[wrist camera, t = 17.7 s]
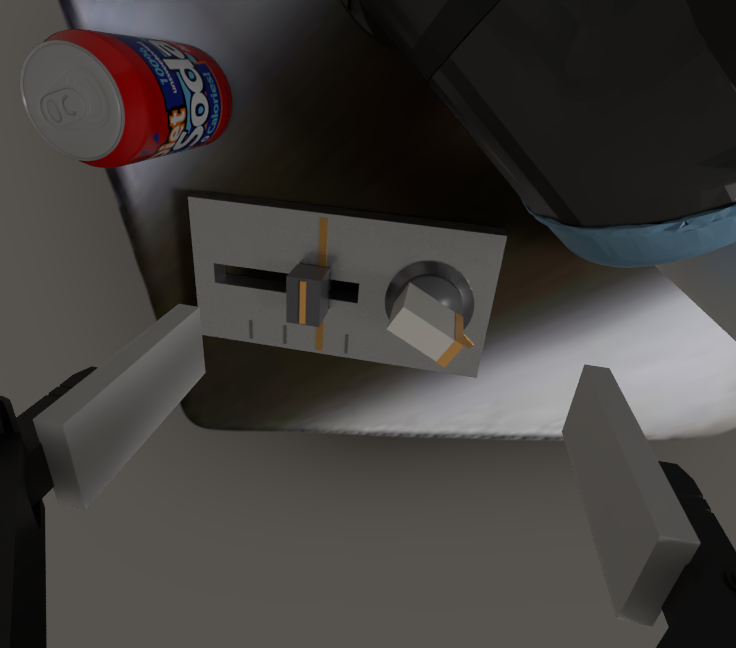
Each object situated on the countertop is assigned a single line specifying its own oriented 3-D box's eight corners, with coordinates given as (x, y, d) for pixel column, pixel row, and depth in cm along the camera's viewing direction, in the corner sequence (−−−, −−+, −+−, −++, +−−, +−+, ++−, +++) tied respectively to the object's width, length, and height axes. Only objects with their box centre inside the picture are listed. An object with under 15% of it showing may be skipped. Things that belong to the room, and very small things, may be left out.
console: (201, 191, 45) (186, 197, 43) (504, 228, 42) (507, 237, 40) (211, 323, 52) (198, 335, 49) (475, 364, 48) (476, 379, 46)
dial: (382, 311, 44) (372, 343, 39) (420, 260, 42) (414, 287, 36) (436, 346, 45) (433, 383, 40) (476, 298, 42) (479, 331, 37)
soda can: (135, 62, 41) (-19, 52, 28) (214, 30, 39) (89, 3, 26) (175, 155, 44) (53, 187, 31) (250, 130, 42) (155, 153, 29)
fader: (305, 254, 46) (285, 277, 41) (336, 258, 46) (320, 281, 40) (304, 296, 48) (285, 323, 43) (334, 301, 48) (318, 328, 42)
